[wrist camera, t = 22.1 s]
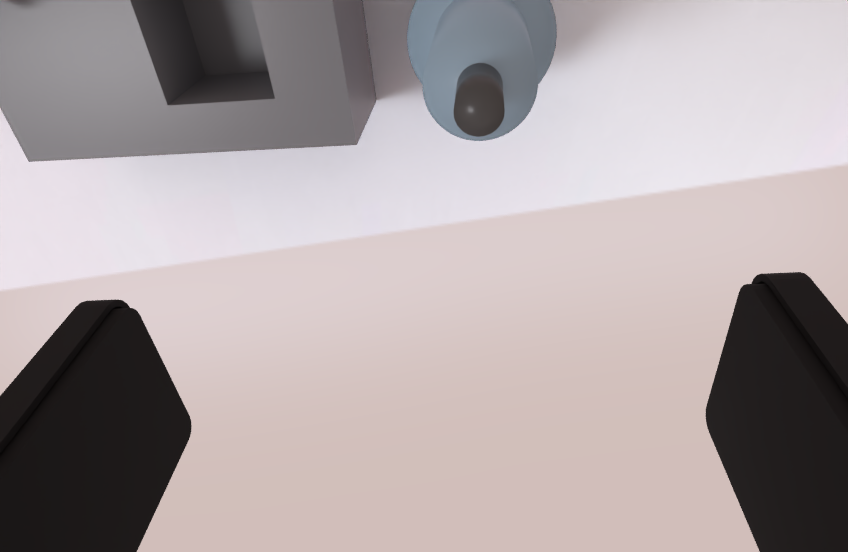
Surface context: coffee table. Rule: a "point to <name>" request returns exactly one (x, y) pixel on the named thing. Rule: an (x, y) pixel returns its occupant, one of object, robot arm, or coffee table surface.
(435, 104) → the plug
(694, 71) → the coffee table surface
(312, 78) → the socket block
